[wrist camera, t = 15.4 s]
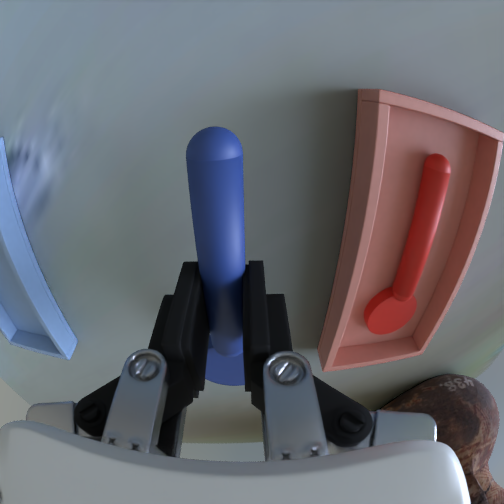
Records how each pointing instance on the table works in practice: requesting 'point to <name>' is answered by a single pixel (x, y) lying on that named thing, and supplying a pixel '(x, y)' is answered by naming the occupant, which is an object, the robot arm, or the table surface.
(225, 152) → the navy spoon
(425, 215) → the red spoon
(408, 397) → the jug
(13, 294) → the blue tray
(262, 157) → the table surface
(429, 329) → the rose tray
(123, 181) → the table surface
